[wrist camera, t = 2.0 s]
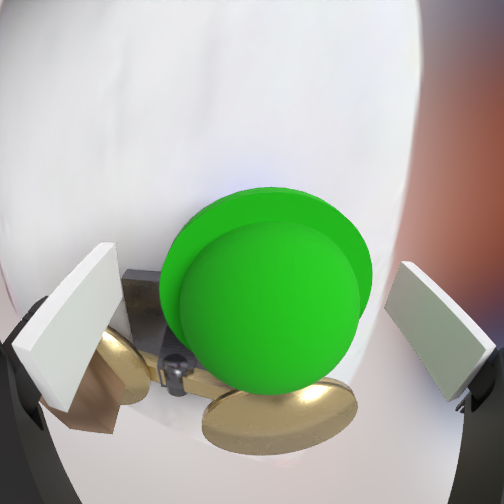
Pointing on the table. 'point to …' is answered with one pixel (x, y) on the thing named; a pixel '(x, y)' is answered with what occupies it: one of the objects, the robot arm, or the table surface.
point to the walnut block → (93, 399)
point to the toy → (267, 288)
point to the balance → (218, 384)
